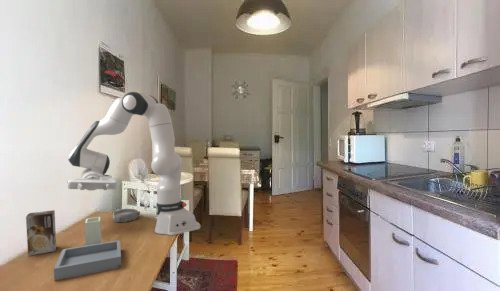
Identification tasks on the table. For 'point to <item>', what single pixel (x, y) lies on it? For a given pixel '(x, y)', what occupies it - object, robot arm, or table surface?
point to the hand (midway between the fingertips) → (94, 188)
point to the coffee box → (41, 232)
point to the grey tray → (88, 260)
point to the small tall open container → (93, 230)
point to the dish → (125, 215)
